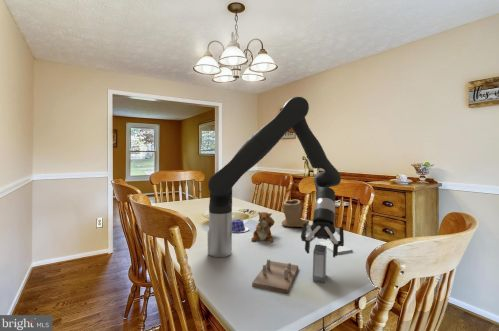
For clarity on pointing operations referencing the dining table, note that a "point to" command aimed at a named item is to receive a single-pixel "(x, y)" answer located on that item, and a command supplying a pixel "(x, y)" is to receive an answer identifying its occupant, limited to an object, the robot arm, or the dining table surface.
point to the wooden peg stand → (276, 276)
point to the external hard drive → (340, 249)
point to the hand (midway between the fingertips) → (320, 254)
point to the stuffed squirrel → (263, 227)
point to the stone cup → (293, 214)
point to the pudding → (238, 226)
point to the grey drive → (319, 263)
